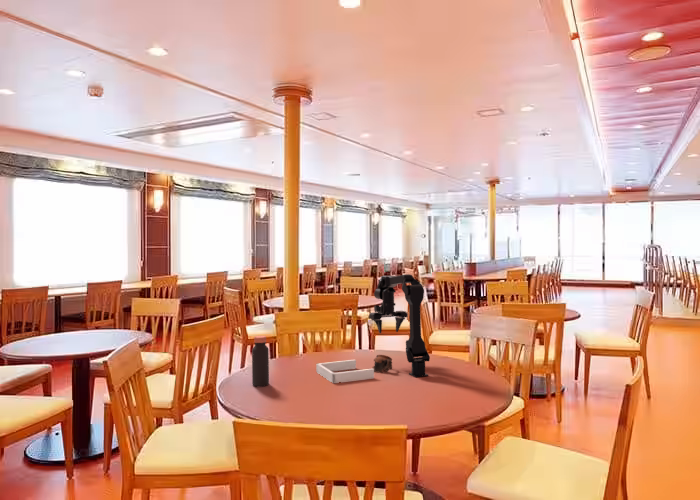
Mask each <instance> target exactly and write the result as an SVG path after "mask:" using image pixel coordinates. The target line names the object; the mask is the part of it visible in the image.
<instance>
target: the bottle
mask: <svg viewBox="0 0 700 500" xmlns="http://www.w3.org/2000/svg"><path fill="white" fill-rule="evenodd" d="M253 338H254V339H253V341H254V346H253V347H252V350H251V369H252V370H251V374H252V375H251V378H252V379H251V382H252V386H253V385H254V386H253V387H257V386H262V387H265V386H264V385H267V384H268V385H269V384H270V371H269V370H270V367H269V366H270V364H269V363H270V361H269V358H270V354H269V353H270V352H269V350H270V349H269V347H268V346H267V345H266V343H267V336H266V335H256V336H254V337H253ZM268 385H267V386H268Z"/></svg>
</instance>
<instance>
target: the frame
mask: <svg viewBox="0 0 700 500" xmlns="http://www.w3.org/2000/svg"><path fill="white" fill-rule="evenodd" d="M315 365H316V366H315V368H316V369H315V370H316V372H317V373H316V374H318V375H319V374H320V376H321V377H322V376H323V377H322V378H324V379H325V378H326V379H325V380H327V381H328V382H330V383H331V382H332V383H331V384H339V382H341V383H347V382H355V381H364V380H371V379H373V380H374V379H375V371H374V369H372V368H367V369H358V370H356V369H357V360H356V359H347V360H338V361H331V362H330V361H329V362H320V363H316V364H315ZM346 370H347V371H346ZM348 370H349V371H348ZM338 371H339V372H338Z"/></svg>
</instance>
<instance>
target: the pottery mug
mask: <svg viewBox="0 0 700 500" xmlns="http://www.w3.org/2000/svg"><path fill="white" fill-rule="evenodd" d="M392 360H393V359H392V358H391V357H390V356H388V355H384V354H376V357H375V358H374V359H373V362H374V365H373V366H372V368H371V369H374V372H378V373H383V372H384V371H385V372H388V371H389V370H392V369H393V362H392Z"/></svg>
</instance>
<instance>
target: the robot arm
mask: <svg viewBox="0 0 700 500" xmlns="http://www.w3.org/2000/svg"><path fill="white" fill-rule="evenodd" d="M400 284H401V291H402V292H403V294H404V297H405V299H404V300H405V301H406V302H407V303H408V307H409V308H408V309H409V311H408V312H409V313H408V312H407V311H404V310H396V311H395V306H396V302H395V293H396V292H397V291H396V289H395V287H397V286H398V285H400ZM373 296H374V298H375V299H377V300H382V302H381V304H380V305H379V304H378V305H377V304H376V305H373V310H374V312H370V313H369V315H368V318H369V320H371V321H373V322H374V323H375V325H376V327H377V330H378V333H379V334H382V331H383V330H382V327H383V320H382V318H391V317H394V319H395V332H396V333H398V332H399V330H400V327H401V325H402V323H403V321H404V320H406V318H408V317H409V338H408V339H407V340H406V341H405V354H406V359H407V361H408V362H407V363H410V364H411V372H408V375H410V376H412V377H414V378H421V377H429V374H428V373H426V362H430V359H431V357H430V353H429V352H428V350H427V348H426V342H425V341H424V340H423V337H422V323H421V322H422V319H421V316H422V315H421V304H422V302H423V300H424V297H425V288H424V286H423V285H422V283H421V282H420V281H418V279H416V278H415V277H414V276H413V274H409V273H408V274H402V275H382V276H380V279H379V282H378V284H377V285H376V289H375V290H374V292H373ZM408 315H409V316H408Z"/></svg>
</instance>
